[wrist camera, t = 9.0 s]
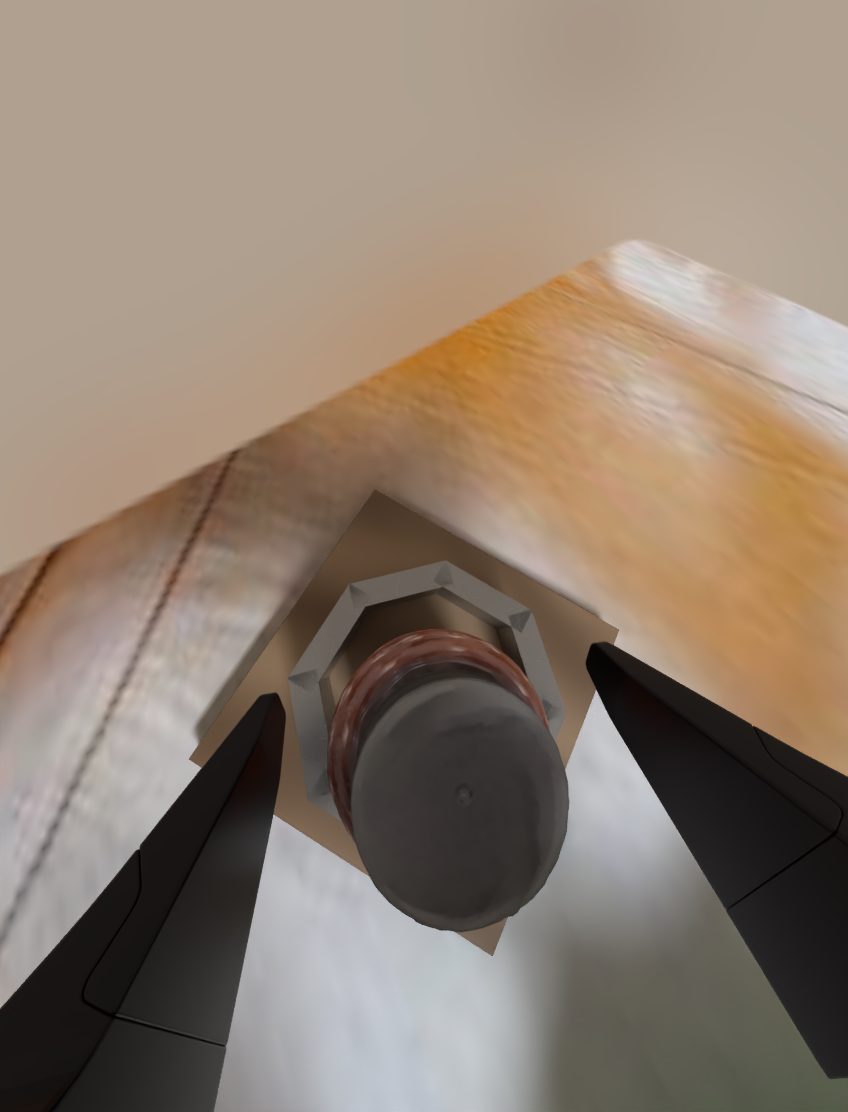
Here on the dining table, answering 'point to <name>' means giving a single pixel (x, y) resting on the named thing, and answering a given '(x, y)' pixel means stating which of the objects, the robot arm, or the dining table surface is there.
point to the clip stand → (376, 550)
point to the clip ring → (361, 597)
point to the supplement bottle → (448, 779)
